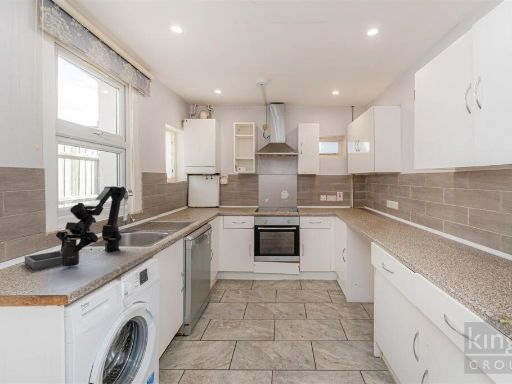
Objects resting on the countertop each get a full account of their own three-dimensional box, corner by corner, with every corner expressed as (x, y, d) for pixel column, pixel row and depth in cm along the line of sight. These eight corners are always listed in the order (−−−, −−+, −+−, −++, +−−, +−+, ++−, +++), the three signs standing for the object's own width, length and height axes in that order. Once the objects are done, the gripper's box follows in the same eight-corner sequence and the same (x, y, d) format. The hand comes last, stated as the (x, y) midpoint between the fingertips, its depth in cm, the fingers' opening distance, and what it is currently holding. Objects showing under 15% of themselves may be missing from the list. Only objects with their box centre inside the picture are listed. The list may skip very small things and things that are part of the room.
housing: (60, 257, 150) (60, 250, 149) (70, 263, 140) (70, 255, 140) (24, 264, 138) (24, 256, 138) (33, 270, 129) (33, 262, 128)
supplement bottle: (69, 267, 130) (68, 242, 129) (58, 266, 132) (58, 241, 131) (82, 263, 136) (82, 239, 135) (72, 261, 138) (72, 238, 138)
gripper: (58, 215, 137) (39, 242, 127) (93, 215, 136) (78, 243, 125) (70, 228, 146) (54, 254, 135) (104, 228, 144) (90, 255, 134)
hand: (68, 251), depth 132 cm, fingers closed on supplement bottle, 7 cm apart
